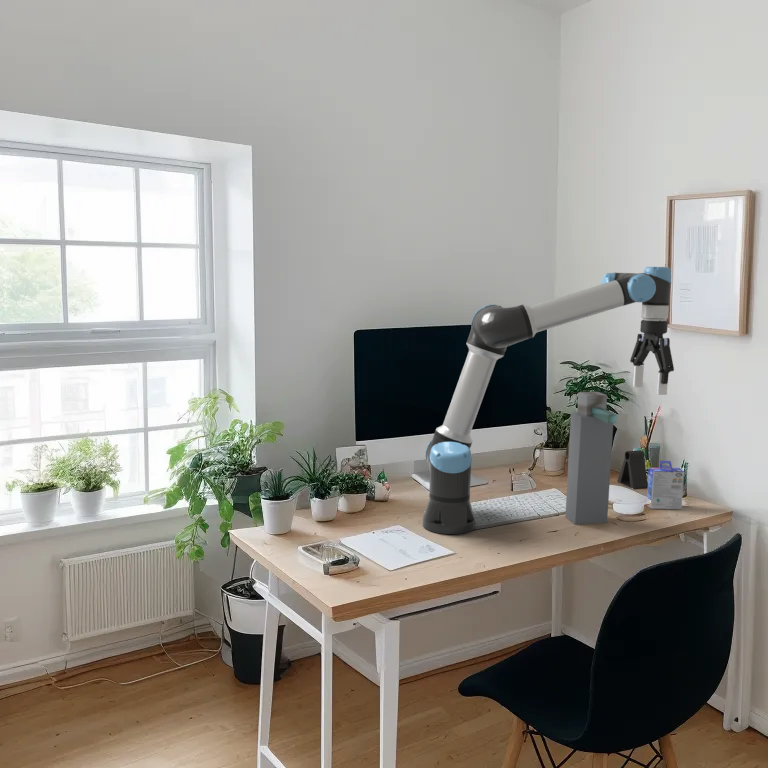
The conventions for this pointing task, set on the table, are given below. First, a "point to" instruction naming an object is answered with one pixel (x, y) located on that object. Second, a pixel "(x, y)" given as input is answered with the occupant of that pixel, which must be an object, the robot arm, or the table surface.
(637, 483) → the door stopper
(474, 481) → the table surface
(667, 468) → the ink cartridge box
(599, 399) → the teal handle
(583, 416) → the charcoal stand
